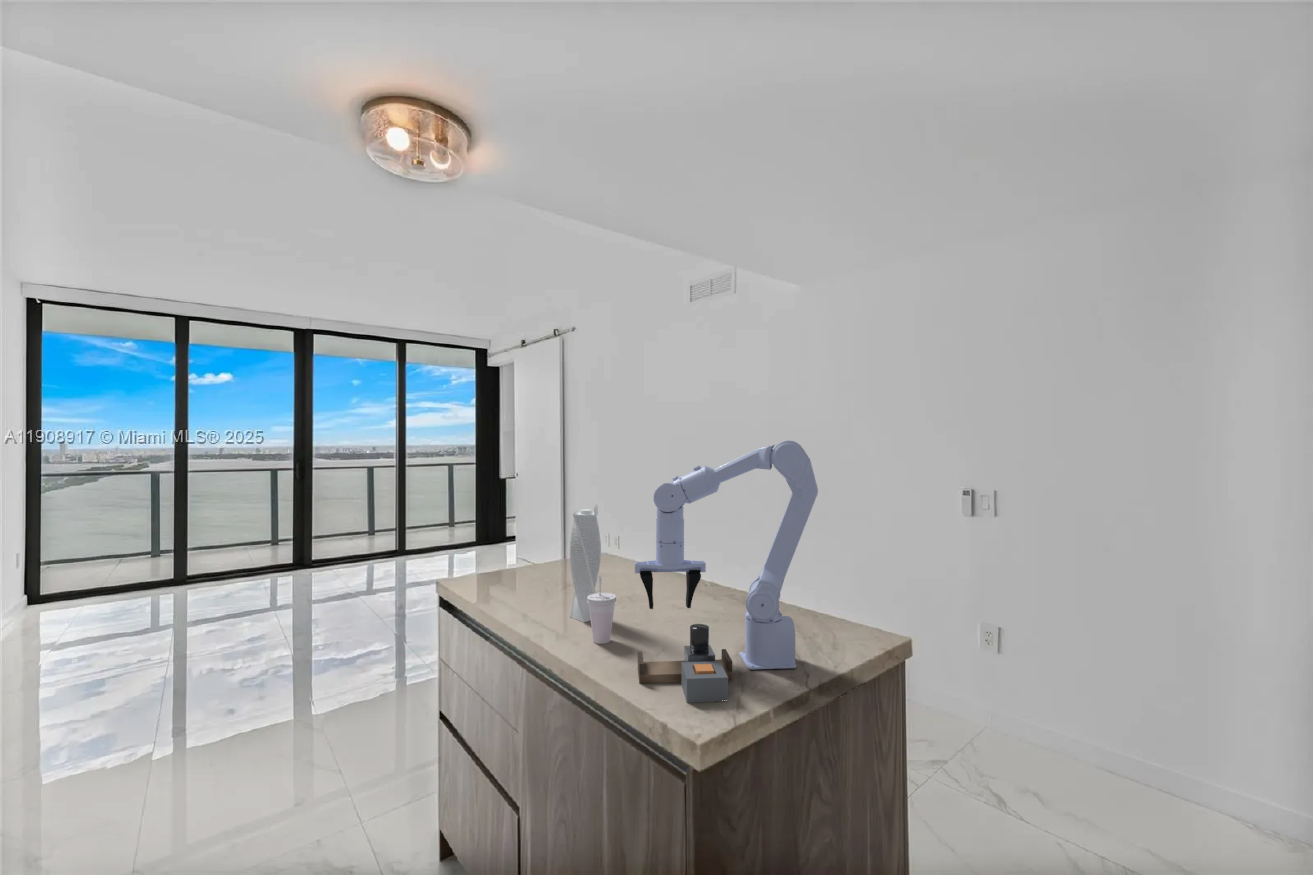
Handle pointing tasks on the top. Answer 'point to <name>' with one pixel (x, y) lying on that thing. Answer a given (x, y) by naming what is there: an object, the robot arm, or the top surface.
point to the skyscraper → (584, 560)
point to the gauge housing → (704, 683)
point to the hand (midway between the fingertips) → (669, 607)
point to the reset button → (703, 669)
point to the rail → (671, 669)
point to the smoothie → (601, 615)
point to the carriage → (699, 645)
